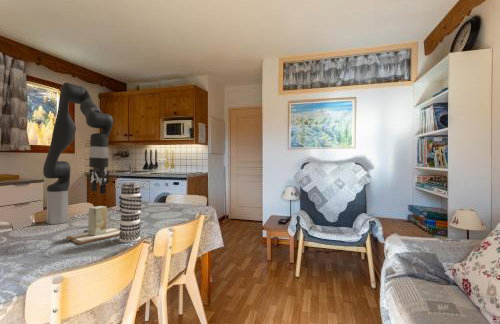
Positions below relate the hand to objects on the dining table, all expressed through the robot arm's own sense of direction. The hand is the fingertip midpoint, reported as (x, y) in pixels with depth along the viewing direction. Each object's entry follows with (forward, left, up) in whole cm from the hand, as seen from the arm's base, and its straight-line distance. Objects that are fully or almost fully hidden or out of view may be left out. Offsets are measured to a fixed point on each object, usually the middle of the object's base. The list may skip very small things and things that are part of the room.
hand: (98, 192), depth 115 cm
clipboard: (0, 0, -20) cm, 20 cm away
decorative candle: (+15, +7, -20) cm, 26 cm away
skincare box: (0, 0, -19) cm, 19 cm away
